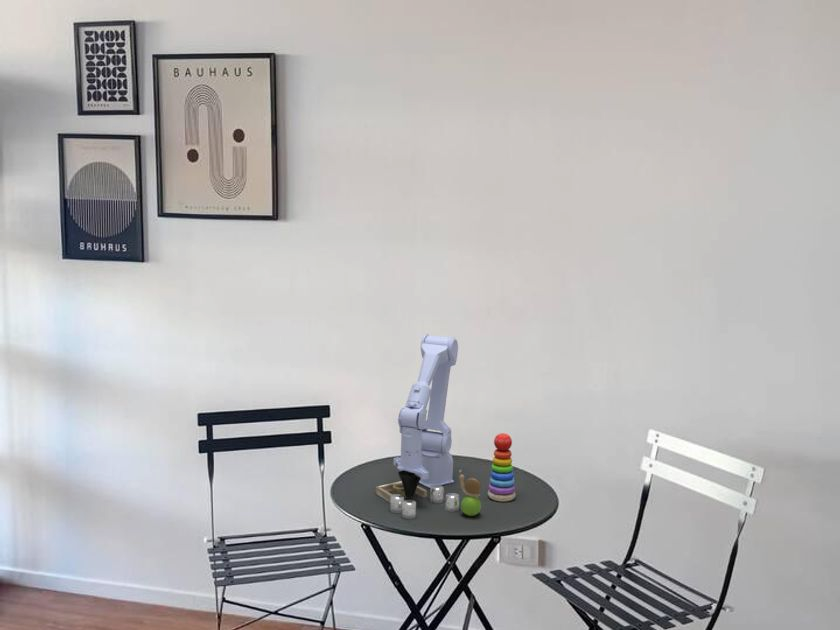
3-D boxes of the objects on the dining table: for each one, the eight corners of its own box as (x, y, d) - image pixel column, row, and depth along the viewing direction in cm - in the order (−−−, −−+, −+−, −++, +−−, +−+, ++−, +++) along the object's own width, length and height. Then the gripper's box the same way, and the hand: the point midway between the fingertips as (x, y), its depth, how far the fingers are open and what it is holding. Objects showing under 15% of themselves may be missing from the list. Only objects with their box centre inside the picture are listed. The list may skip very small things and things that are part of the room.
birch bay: (406, 486, 237) (406, 479, 236) (426, 497, 229) (426, 490, 228) (374, 493, 230) (374, 486, 230) (394, 505, 222) (394, 498, 222)
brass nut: (403, 491, 233) (403, 481, 232) (412, 496, 229) (412, 486, 229) (388, 495, 230) (389, 485, 229) (397, 500, 226) (397, 489, 226)
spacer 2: (410, 512, 217) (410, 498, 217) (418, 517, 214) (418, 503, 214) (399, 515, 215) (399, 501, 215) (407, 520, 212) (407, 505, 212)
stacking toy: (518, 494, 233) (521, 432, 230) (511, 504, 225) (514, 439, 223) (492, 490, 236) (495, 428, 233) (484, 499, 228) (486, 435, 225)
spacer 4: (453, 505, 223) (453, 491, 223) (461, 510, 220) (461, 496, 220) (442, 508, 221) (443, 494, 221) (450, 512, 218) (451, 498, 218)
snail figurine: (461, 509, 221) (462, 467, 219) (483, 513, 219) (485, 470, 217) (454, 516, 216) (455, 473, 214) (476, 520, 214) (478, 477, 212)
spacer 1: (398, 507, 221) (398, 493, 221) (406, 511, 218) (406, 497, 218) (387, 509, 219) (388, 495, 218) (395, 514, 216) (395, 499, 216)
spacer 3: (438, 497, 229) (438, 484, 228) (445, 501, 226) (446, 488, 225) (427, 500, 227) (428, 486, 226) (435, 504, 224) (435, 490, 223)
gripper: (384, 444, 227) (383, 490, 229) (414, 459, 215) (412, 507, 217) (405, 441, 231) (404, 486, 233) (435, 455, 219) (433, 502, 221)
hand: (409, 496), depth 226 cm, fingers closed
